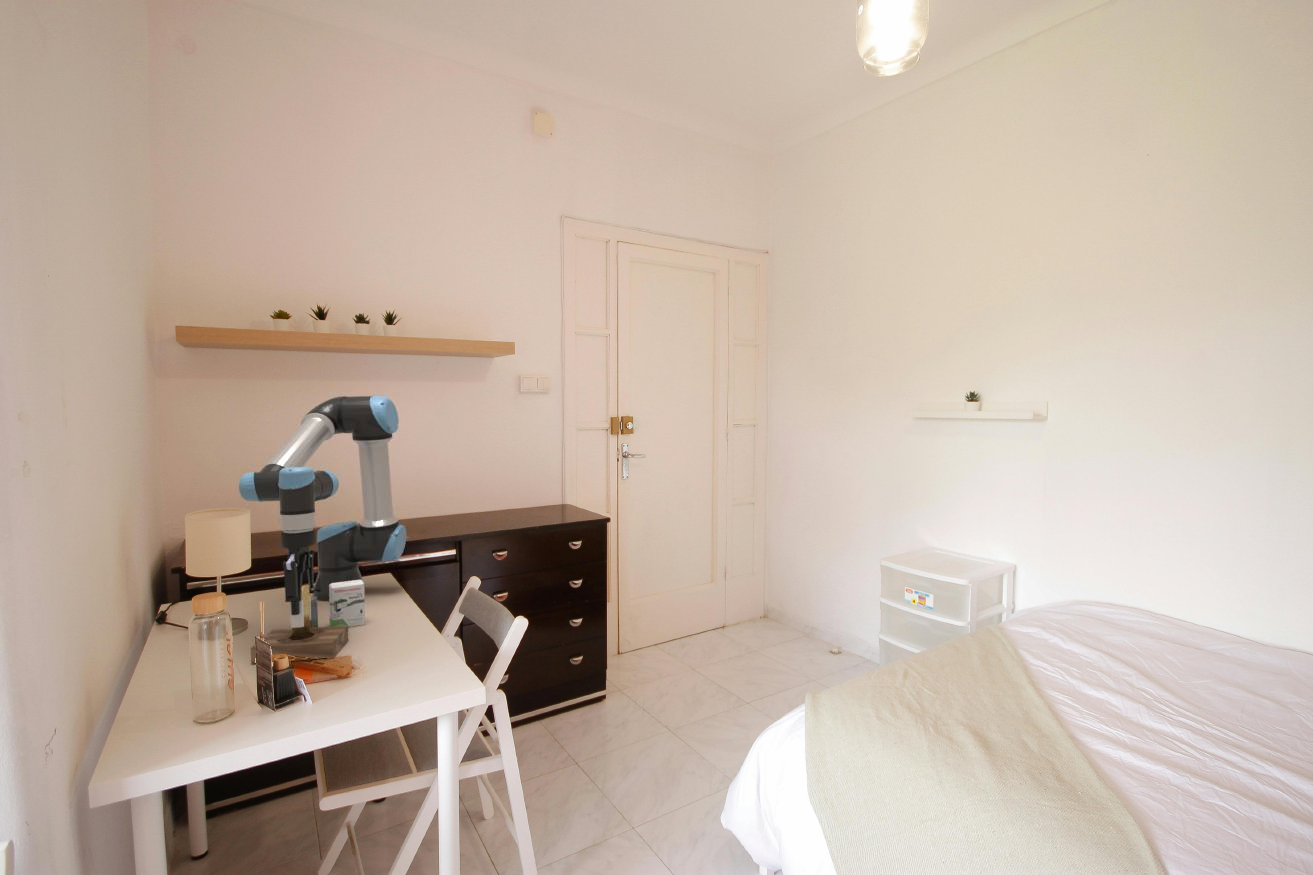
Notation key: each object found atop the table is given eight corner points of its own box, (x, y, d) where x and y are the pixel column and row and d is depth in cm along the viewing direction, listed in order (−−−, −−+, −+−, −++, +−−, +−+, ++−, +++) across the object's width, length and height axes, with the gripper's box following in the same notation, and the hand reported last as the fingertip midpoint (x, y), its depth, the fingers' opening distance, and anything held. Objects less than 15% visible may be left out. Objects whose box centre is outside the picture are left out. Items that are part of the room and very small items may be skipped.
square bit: (300, 634, 167) (298, 597, 166) (318, 633, 167) (317, 596, 167) (293, 640, 162) (292, 602, 162) (312, 639, 163) (310, 601, 163)
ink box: (331, 630, 170) (330, 587, 169) (329, 625, 174) (328, 583, 173) (366, 624, 174) (364, 582, 174) (363, 619, 179) (362, 578, 178)
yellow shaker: (295, 630, 156) (294, 583, 155) (313, 629, 157) (311, 582, 156) (289, 636, 152) (287, 587, 151) (307, 635, 153) (305, 586, 152)
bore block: (273, 645, 159) (272, 630, 159) (348, 640, 162) (348, 625, 162) (251, 664, 147) (250, 647, 147) (332, 658, 150) (332, 642, 150)
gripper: (295, 524, 161) (298, 613, 162) (266, 537, 144) (269, 636, 145) (326, 523, 162) (329, 611, 163) (301, 536, 145) (304, 634, 146)
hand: (301, 623), depth 154 cm, fingers closed on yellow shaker, 4 cm apart
